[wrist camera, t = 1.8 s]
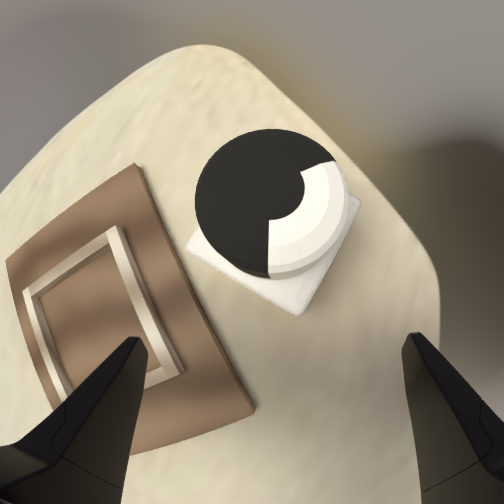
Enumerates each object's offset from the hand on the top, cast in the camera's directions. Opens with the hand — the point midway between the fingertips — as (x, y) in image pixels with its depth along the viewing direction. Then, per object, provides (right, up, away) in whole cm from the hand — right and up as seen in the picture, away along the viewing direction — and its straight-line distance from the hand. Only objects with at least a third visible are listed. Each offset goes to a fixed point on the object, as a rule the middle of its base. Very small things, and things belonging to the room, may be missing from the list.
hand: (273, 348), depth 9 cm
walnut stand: (-13, -3, +14) cm, 19 cm away
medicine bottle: (+1, +3, +13) cm, 14 cm away
